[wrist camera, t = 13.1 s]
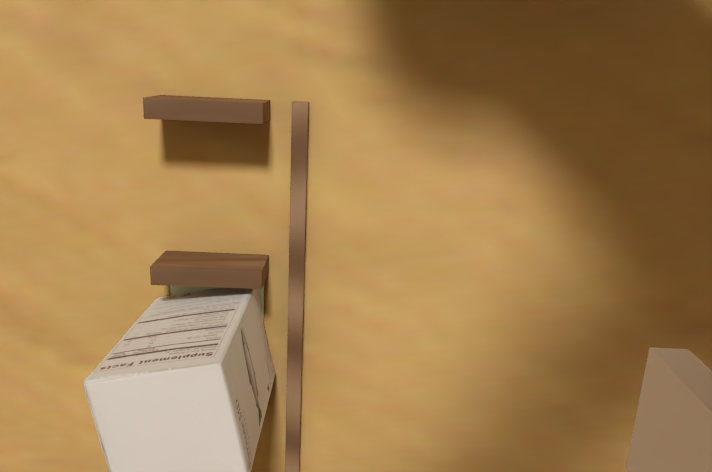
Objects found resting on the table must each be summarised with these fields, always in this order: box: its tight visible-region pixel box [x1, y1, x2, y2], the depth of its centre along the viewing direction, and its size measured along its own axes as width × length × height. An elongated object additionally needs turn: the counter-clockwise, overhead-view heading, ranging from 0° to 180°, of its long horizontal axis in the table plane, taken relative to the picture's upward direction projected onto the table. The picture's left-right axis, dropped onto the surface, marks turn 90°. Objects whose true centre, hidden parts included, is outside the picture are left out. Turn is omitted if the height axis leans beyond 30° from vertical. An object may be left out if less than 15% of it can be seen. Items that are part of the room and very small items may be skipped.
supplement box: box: [83, 288, 275, 472], centre depth 38 cm, size 7×7×13 cm
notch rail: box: [143, 95, 309, 472], centre depth 43 cm, size 32×10×4 cm, turn 177°
